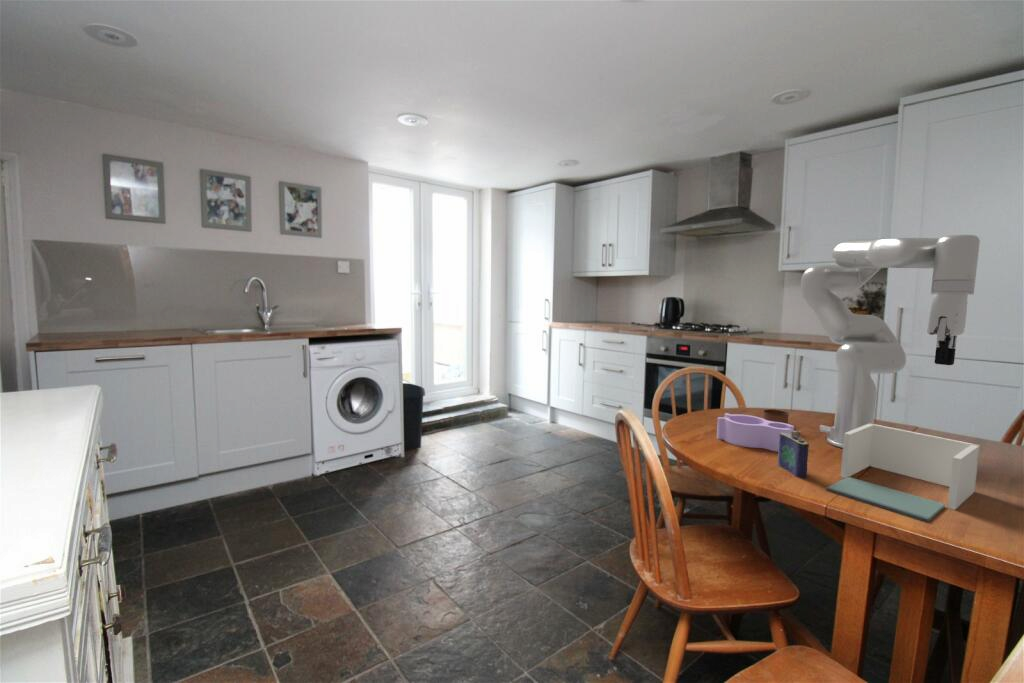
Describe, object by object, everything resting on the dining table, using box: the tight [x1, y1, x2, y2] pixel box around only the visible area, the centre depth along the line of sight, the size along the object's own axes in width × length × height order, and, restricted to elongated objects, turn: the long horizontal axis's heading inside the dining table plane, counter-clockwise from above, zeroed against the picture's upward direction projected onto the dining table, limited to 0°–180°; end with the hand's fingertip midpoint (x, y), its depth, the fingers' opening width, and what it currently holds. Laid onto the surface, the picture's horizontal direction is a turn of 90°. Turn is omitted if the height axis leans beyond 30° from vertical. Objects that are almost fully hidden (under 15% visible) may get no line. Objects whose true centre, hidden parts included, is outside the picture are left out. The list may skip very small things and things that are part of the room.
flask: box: [776, 430, 810, 480], centre depth 118 cm, size 10×3×12 cm, turn 1°
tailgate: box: [825, 476, 946, 523], centre depth 103 cm, size 1×18×12 cm
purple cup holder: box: [716, 412, 795, 452], centre depth 144 cm, size 20×12×7 cm, turn 48°
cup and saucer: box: [762, 409, 797, 431], centre depth 158 cm, size 12×12×6 cm
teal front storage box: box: [839, 423, 981, 511], centre depth 111 cm, size 16×21×12 cm
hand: (944, 364), depth 113 cm, fingers closed
